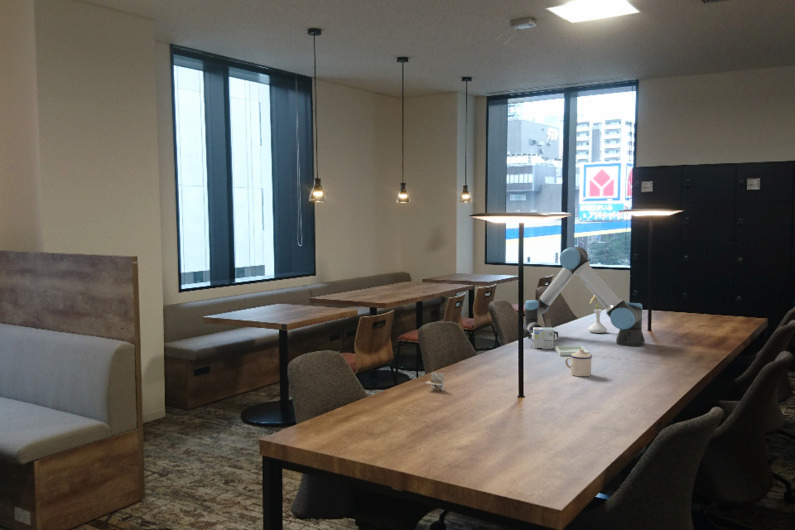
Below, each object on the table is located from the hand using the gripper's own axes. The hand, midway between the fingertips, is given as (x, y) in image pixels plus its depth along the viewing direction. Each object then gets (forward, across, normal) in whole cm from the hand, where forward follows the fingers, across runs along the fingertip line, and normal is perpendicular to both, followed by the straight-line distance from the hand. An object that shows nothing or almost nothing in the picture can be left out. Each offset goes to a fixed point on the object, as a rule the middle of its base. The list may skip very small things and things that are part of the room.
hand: (544, 337), depth 364 cm
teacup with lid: (+58, -1, -7) cm, 59 cm away
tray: (+10, -11, -6) cm, 17 cm away
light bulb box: (-4, 0, -7) cm, 8 cm away
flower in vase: (-49, -44, -7) cm, 66 cm away
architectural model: (+82, +65, -7) cm, 105 cm away
